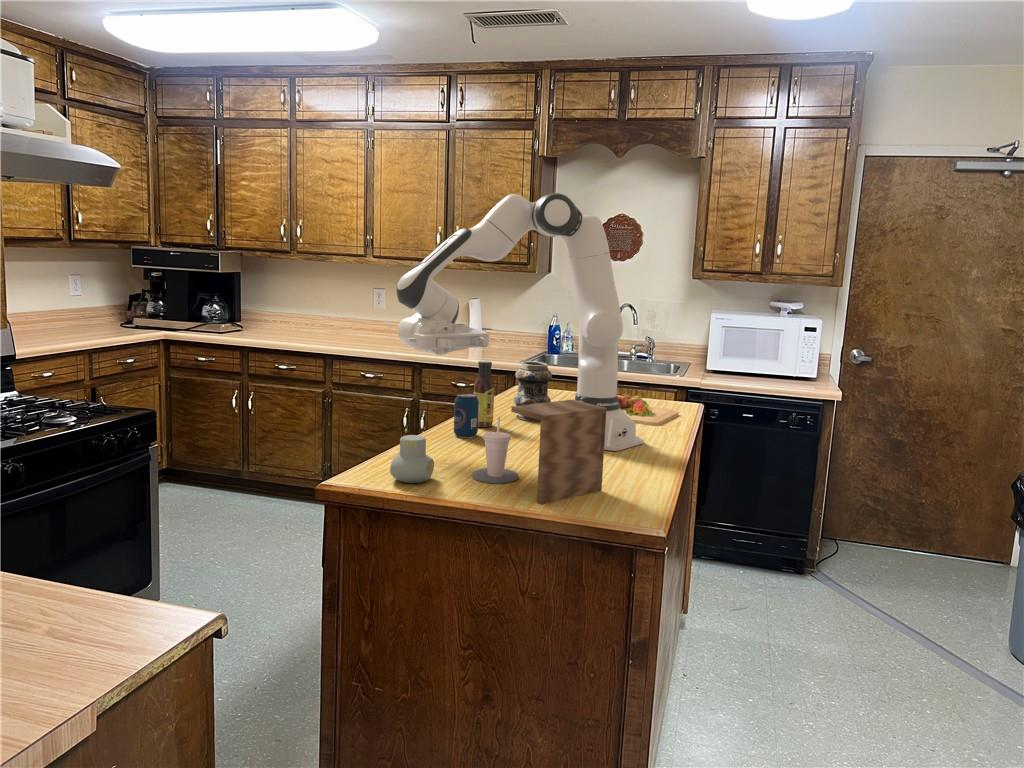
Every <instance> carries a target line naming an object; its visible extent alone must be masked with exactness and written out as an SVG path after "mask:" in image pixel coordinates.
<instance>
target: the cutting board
mask: <svg viewBox="0 0 1024 768" xmlns="http://www.w3.org/2000/svg"><path fill="white" fill-rule="evenodd" d="M617 396H618V397H620V396H622V395H617ZM622 397H626V398H627V399H626V400H627V402H625V403H626V404H622V403H620V409H621V410H622V411H623V412H624V413H626V414H627V415H628V416H629V417H630V418H631V419H632V420H633V421H634V422H635V424H638V425H639V424H640V425H645V426H656V427H657V426H658V427H659V426H660V425H662V424H664V423H667V422H668V421H670V420H671V419H674V418H676V417H678V416H679V411H677V410H674V409H669V408H662V407H656V406H649V403H648V402H647V401H646V400H644V399H643V398H642V396H640V395H634V396H630V395H629V394H624V395H623V396H622Z"/></svg>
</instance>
